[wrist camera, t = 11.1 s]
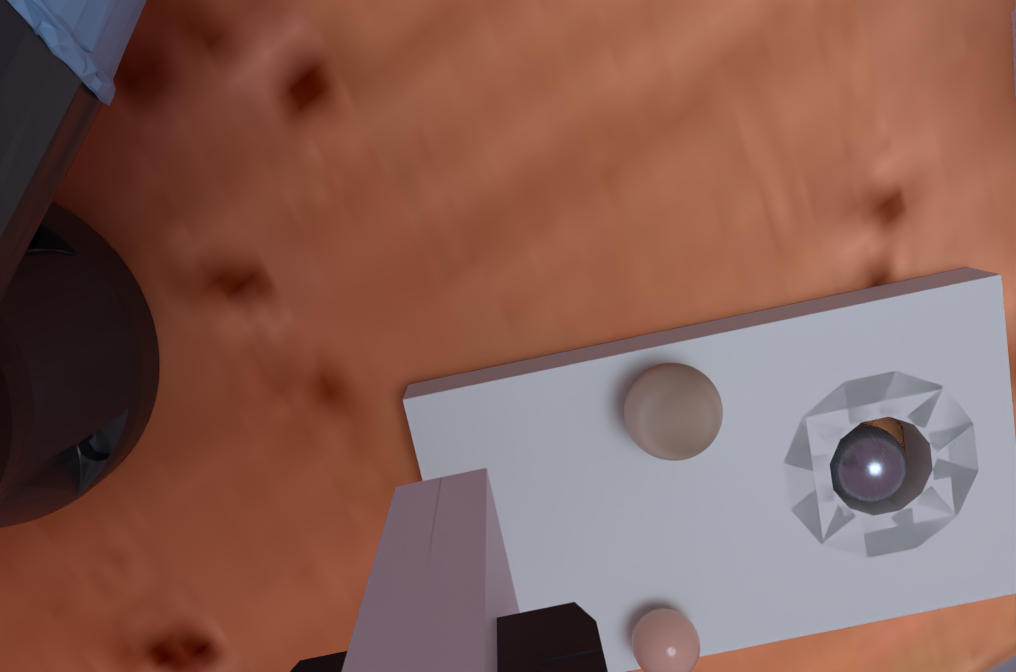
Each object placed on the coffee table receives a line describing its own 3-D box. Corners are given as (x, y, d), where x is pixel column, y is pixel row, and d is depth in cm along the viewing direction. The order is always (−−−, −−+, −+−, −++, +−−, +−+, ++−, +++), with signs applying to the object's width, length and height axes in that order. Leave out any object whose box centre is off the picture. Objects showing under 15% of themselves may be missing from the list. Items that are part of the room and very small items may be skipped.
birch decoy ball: (625, 450, 36) (641, 484, 32) (608, 363, 35) (623, 388, 31) (715, 431, 36) (742, 464, 32) (700, 344, 35) (726, 367, 31)
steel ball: (864, 508, 35) (937, 480, 35) (826, 431, 36) (897, 405, 36) (833, 518, 38) (900, 493, 39) (799, 448, 39) (865, 424, 40)
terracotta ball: (632, 660, 38) (644, 701, 35) (621, 602, 38) (632, 640, 35) (695, 647, 38) (713, 687, 35) (685, 589, 38) (702, 626, 35)
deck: (477, 669, 41) (477, 701, 39) (408, 384, 38) (402, 399, 35) (995, 565, 40) (1028, 590, 38) (967, 267, 37) (1001, 274, 35)
